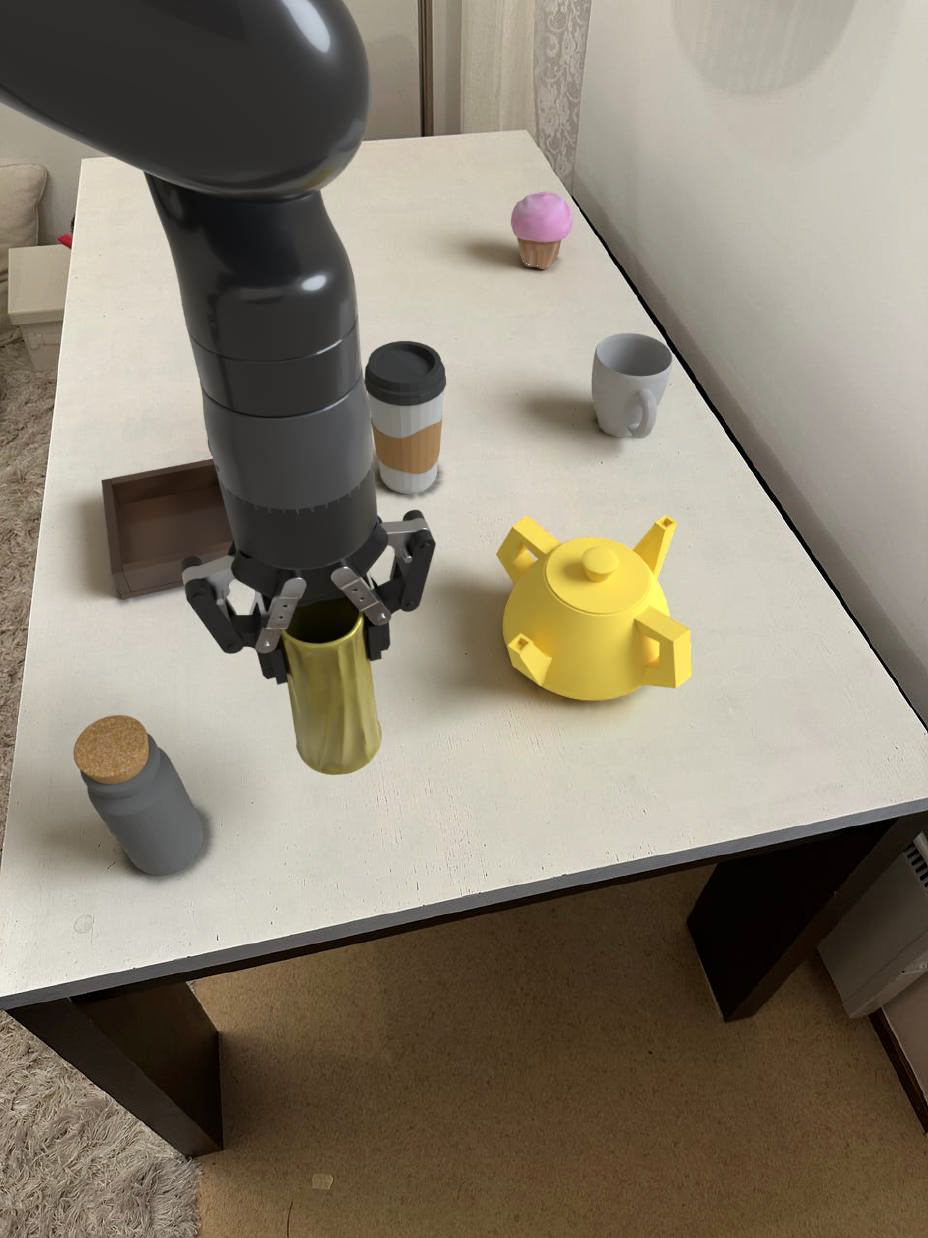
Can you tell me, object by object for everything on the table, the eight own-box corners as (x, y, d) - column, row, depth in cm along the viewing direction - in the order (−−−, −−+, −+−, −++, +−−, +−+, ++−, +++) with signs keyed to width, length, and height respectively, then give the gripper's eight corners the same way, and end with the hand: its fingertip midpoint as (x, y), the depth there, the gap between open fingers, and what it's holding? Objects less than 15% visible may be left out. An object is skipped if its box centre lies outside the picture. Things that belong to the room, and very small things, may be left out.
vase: (284, 722, 61) (252, 594, 50) (362, 691, 63) (348, 561, 52) (314, 790, 58) (288, 668, 47) (395, 755, 60) (388, 631, 49)
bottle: (130, 885, 65) (63, 794, 53) (127, 817, 68) (63, 718, 57) (208, 865, 66) (158, 771, 54) (201, 800, 70) (153, 698, 58)
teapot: (681, 720, 75) (715, 638, 66) (496, 717, 75) (504, 634, 66) (655, 581, 86) (681, 493, 77) (492, 578, 86) (499, 489, 77)
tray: (122, 600, 83) (111, 574, 80) (112, 506, 91) (101, 479, 88) (264, 568, 86) (258, 541, 83) (241, 480, 94) (235, 453, 91)
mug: (574, 405, 104) (585, 335, 97) (642, 397, 106) (657, 328, 98) (604, 468, 97) (618, 398, 90) (676, 459, 98) (696, 390, 91)
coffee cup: (415, 443, 99) (412, 328, 87) (460, 480, 95) (463, 365, 83) (357, 472, 96) (346, 356, 84) (401, 512, 92) (396, 397, 80)
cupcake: (571, 253, 128) (580, 186, 120) (561, 282, 123) (570, 213, 115) (514, 245, 129) (519, 178, 122) (502, 273, 124) (506, 204, 116)
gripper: (147, 535, 36) (221, 740, 49) (461, 471, 40) (453, 679, 53) (131, 430, 41) (203, 643, 54) (415, 380, 44) (418, 593, 57)
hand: (327, 660), depth 53 cm, fingers closed on vase, 5 cm apart
